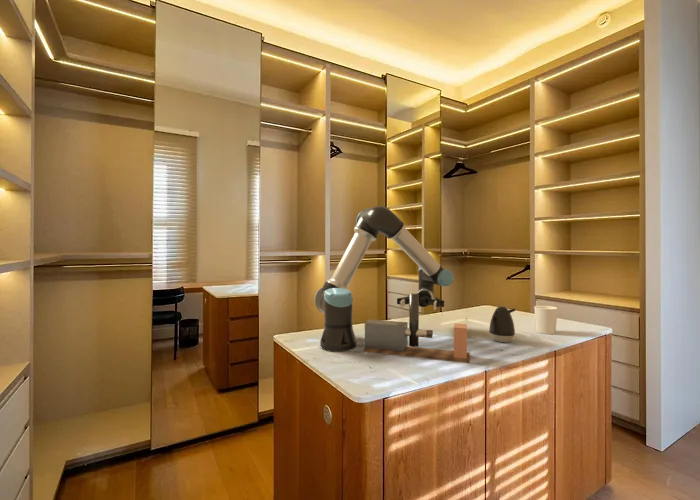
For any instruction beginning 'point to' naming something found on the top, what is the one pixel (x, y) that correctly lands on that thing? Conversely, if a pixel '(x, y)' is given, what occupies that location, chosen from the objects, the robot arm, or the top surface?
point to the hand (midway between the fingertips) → (417, 305)
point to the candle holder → (545, 319)
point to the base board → (424, 353)
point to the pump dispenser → (502, 325)
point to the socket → (460, 340)
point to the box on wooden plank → (386, 335)
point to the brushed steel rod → (415, 322)
